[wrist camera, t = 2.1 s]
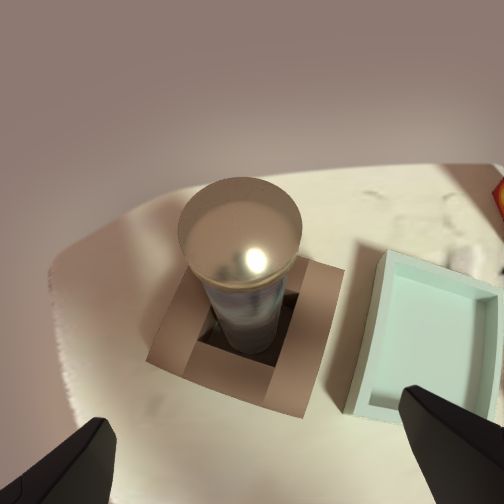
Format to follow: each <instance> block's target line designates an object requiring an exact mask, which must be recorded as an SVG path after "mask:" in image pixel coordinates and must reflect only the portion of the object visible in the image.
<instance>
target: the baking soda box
mask: <svg viewBox="0 0 504 504" xmlns="http://www.w3.org/2000/svg"><path fill="white" fill-rule="evenodd" d="M492 194H493V196H494V199H495V201H496V203H497V206H498V208H499V211H500V213H501V216H502V218H503V221H504V177H503V179H502V180H501V181H500V183H499V184H498V185H497V187H496V188H495V189H494V191H493V192H492Z"/></svg>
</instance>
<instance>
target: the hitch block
mask: <svg viewBox="0 0 504 504" xmlns="http://www.w3.org/2000/svg"><path fill="white" fill-rule="evenodd" d="M344 271H345V270H343V269H339V268H336V267H333V266H329V265H326V264H322V263H319V262H316V261H312V260H309V259H305V258H302V257H299V256H297V257H296V260H295V262H294V264H293V266H292V267H291V269H290V270H289V271H288V276H287V281H286V286H285V291H284V296H283V301H282V304H283V305H287V306H290V307H293V308H294V311H293V315H292V318H291V321H290V324H289V327H288V330H287V333H286V336H285V339H284V342H283V345H282V348H281V351H280V354H279V357H278V360H277V363H276V366H275V367H272V366H269V365H266V364H263V363H259V362H256V361H253V360H250V359H247V358H244V357H241V356H239V355H236V354H233V353H230V352H227V351H224V350H221V349H219V348H216V347H213V346H211V345H208V344H207V343H208V340H209V338H210V335H211V333H212V330H213V328H214V325H215V323H216V320H217V316H216V313H215V311H214V309H213V307H212V304H211V302H210V300H209V297H208V295H207V293H206V290H205V288H204V286H203V283H202V281H201V280H200V279H199V278H198V277H197V276H196V275H195V274H194V272H193V271H192V270H191V268H190V266H188V268H187V270H186V273H185V275H184V277H183V279H182V281H181V283H180V285H179V287H178V290H177V292H176V294H175V296H174V298H173V300H172V303H171V305H170V307H169V309H168V311H167V314H166V316H165V318H164V320H163V322H162V325H161V327H160V329H159V331H158V334H157V336H156V338H155V341H154V343H153V345H152V347H151V350H150V352H149V354H148V357H147V359H146V362H148V363H150V364H152V365H155V366H157V367H159V368H161V369H163V370H166V371H168V372H170V373H172V374H175V375H177V376H179V377H182V378H184V379H187V380H189V381H191V382H194V383H196V384H199V385H201V386H204V387H206V388H209V389H212V390H214V391H217V392H220V393H222V394H225V395H228V396H231V397H234V398H236V399H239V400H242V401H245V402H248V403H251V404H254V405H257V406H260V407H264V408H267V409H270V410H273V411H277V412H280V413H283V414H287V415H291V416H294V417H298V418H302V419H303V417H304V414H305V411H306V408H307V405H308V402H309V399H310V396H311V393H312V390H313V386H314V383H315V380H316V377H317V374H318V370H319V367H320V364H321V360H322V357H323V353H324V350H325V346H326V343H327V339H328V335H329V332H330V328H331V324H332V320H333V317H334V313H335V309H336V305H337V301H338V296H339V292H340V288H341V284H342V279H343V275H344Z"/></svg>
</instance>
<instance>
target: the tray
mask: <svg viewBox="0 0 504 504" xmlns="http://www.w3.org/2000/svg"><path fill="white" fill-rule="evenodd" d="M503 339H504V289H502V288H499V287H497V286H494V285H491V284H489V283H486V282H483V281H480V280H477V279H475V278H472V277H469V276H466V275H463V274H460V273H458V272H455V271H452V270H449V269H446V268H443V267H440V266H437V265H434V264H431V263H428V262H425V261H422V260H419V259H416V258H413V257H410V256H407V255H404V254H401V253H398V252H395V251H391V250H388V249H387V251H386V252H385V254H384V255H383V256H382V258H381V259H380V261H379V262H378V264H377V267H376V273H375V279H374V285H373V291H372V296H371V302H370V307H369V312H368V317H367V322H366V326H365V331H364V335H363V340H362V344H361V348H360V353H359V357H358V361H357V365H356V368H355V372H354V376H353V380H352V383H351V387H350V390H349V394H348V397H347V401H346V404H345V407H344V411H343V414H345V415H349V416H354V417H359V418H364V419H369V420H374V421H379V422H385V423H391V424H397V425H403V423H402V420H401V417H400V415H399V411H398V405H399V402H400V398H401V394H402V391H403V389H404V388H405V387H408V386H411V385H418V386H420V387H422V388H424V389H426V390H428V391H430V392H432V393H434V394H436V395H438V396H440V397H442V398H444V399H446V400H448V401H450V402H452V403H454V404H456V405H458V406H460V407H462V408H464V409H466V410H468V411H470V412H472V413H474V414H476V415H479V416H481V417H483V418H485V419H487V420H489V421H491V422H493V421H494V416H495V410H496V405H497V399H498V392H499V385H500V377H501V367H502V356H503Z"/></svg>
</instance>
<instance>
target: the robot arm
mask: <svg viewBox="0 0 504 504" xmlns="http://www.w3.org/2000/svg"><path fill="white" fill-rule="evenodd" d="M398 411H399V415H400V417H401V420H402V423H403V426H404V429H405V432H406V435H407V438H408V441H409V444H410V446H411V449H412V452H413V454H414V456H415V458H416V460H417V462H418V464H419V467H420V469H421V471H422V473H423V475H424V477H425V480H426V482H427V484H428V486H429V488H430V491H431V493H432V495H433V497H434V500H435V502H436V504H504V427H501V426H500V425H498V424H495V423H493V422H491V421H489V420H487V419H485V418H483V417H481V416H479V415H476V414H474V413H472V412H470V411H468V410H466V409H464V408H462V407H460V406H458V405H456V404H454V403H452V402H450V401H448V400H446V399H444V398H442V397H440V396H438V395H436V394H434V393H432V392H430V391H428V390H426V389H424V388H422V387H420V386H418V385H411V386H408V387H405V388H404V389H403V391H402V394H401V398H400V402H399V405H398ZM116 443H117V438H116V435H115V433H114V431H113V429H112V427H111V425H110V424H109V422H108V420H107V419H106V418H100V417H94V418H92V419H91V420H90V421H88V422H87V423H86V424H85V425H83V426H82V427H81V428H80V429H78V430H77V431H76V432H75V433H74V434H72V435H71V436H70V437H69V438H67V439H66V440H65V441H64V442H62V443H61V444H60V445H59V446H57V447H56V448H55V449H54V450H52V451H51V452H50V453H49V454H47V455H46V456H45V457H44V458H42V459H41V460H40V461H39V462H37V463H36V464H35V465H33V466H32V467H31V468H30V469H28V470H27V471H26V472H24V473H23V474H22V476H19V477H18V478H17V479H15V480H14V481H13V482H11V483H10V484H8V485H7V486H6V487H4V488H3V489H1V490H0V504H108V502H109V497H110V492H111V487H112V481H113V473H114V462H115V452H116Z"/></svg>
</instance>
